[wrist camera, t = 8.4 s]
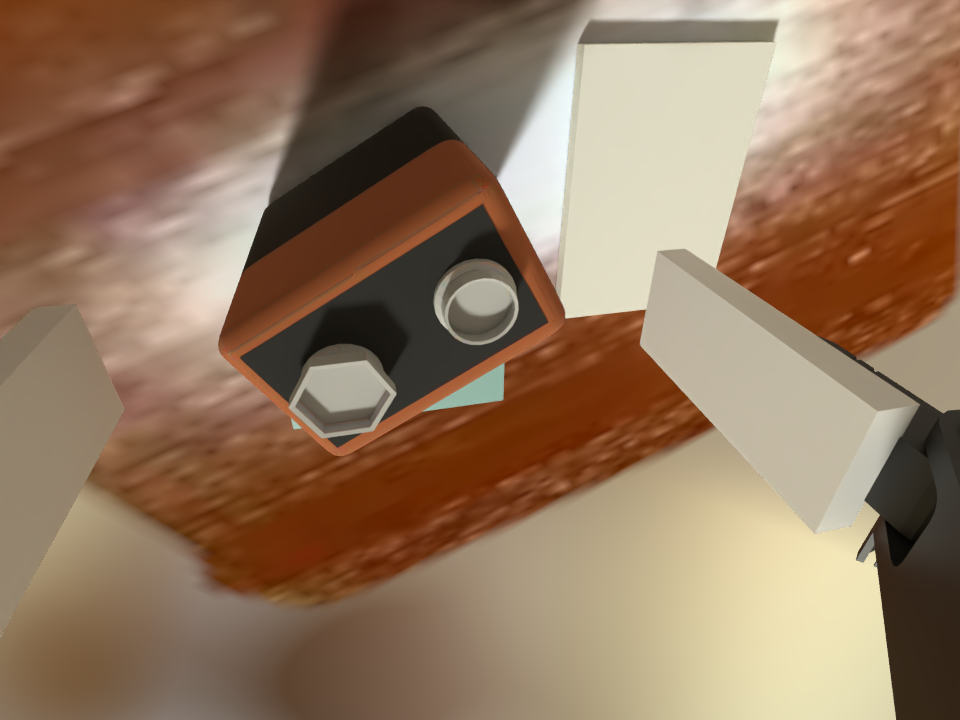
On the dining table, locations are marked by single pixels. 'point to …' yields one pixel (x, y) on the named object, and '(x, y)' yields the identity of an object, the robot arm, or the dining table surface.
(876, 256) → the dining table surface
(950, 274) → the dining table surface
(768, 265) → the dining table surface
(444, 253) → the battery
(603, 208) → the mat
